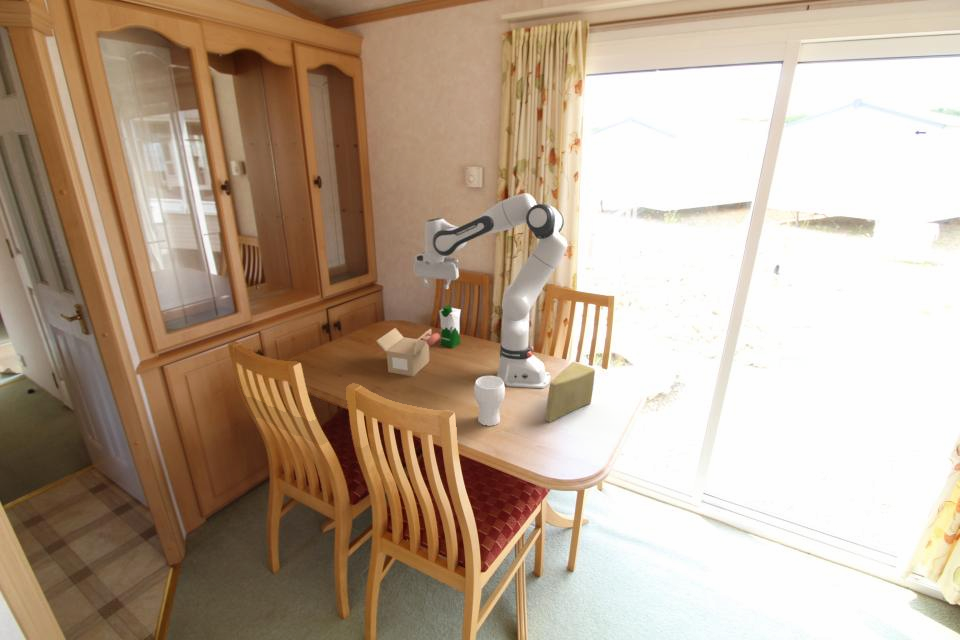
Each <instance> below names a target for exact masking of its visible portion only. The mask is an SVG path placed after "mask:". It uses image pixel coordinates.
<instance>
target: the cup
mask: <svg viewBox="0 0 960 640" xmlns="http://www.w3.org/2000/svg"><path fill="white" fill-rule="evenodd" d="M505 387H506V385H505V384H504V382H503V380H502V379H501V378H499V377H497V375H484V376H483V375H482V376H480V377H478V378H477V379H476V380H475V383H474V387H473V396H474V398H475V399H474V400H475V401H476V403H477V405H478V410H479V413H478V419H477V422H478V423H479V422H480V423H481V424H480V423H479V424H480V425H482V424H483V426H485V425H487V426H486V427H493V425H494V426H496V424H497V425H498V424H500V422H501V416H500V407H501V405H502V403H503V401H504V398H505V396H506V388H505Z"/></svg>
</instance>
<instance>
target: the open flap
mask: <svg viewBox="0 0 960 640" xmlns="http://www.w3.org/2000/svg"><path fill="white" fill-rule="evenodd" d="M404 337H405V336H403V334H402V333H400V331H399V330H398V329H397V328H396V327H394V328H393V329H391V330H390V331H388V332H387V333H386V334H384V335H383V336H381V337H379V338H378V339H377V340H376V341H375V342H376V343H377V344H378V345H379V347H381V348H382V350H383V351H384V352H385V353H387V350H389V349H390V348H391V347H393V346H394V345H395V344H396V343H398V342H399V341H400V340H402V339H403V338H404Z"/></svg>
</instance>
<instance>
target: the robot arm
mask: <svg viewBox="0 0 960 640" xmlns="http://www.w3.org/2000/svg"><path fill="white" fill-rule="evenodd" d="M522 224H526V225H527V227H528V229H529V230H530V231H531V232H532V234H533V235H534V236H535V238H536V239H538V242H537V244H536V246H535V247H534V248H533V250H532V252H531V253H530V255H529V256H528V258H527V260H525V262H524V263H523V265H522V267H521V268H520V270H519V272H518V274H517V276H516V278H515V280H514V281H513V282H512V283H510V284H509V285H508V286H507V287H506V288H505V289H504V291H503V296H502V302H501V308H502V309H501V310H502V318H501V320H502V321H501V342H500V343H501V344H500V347H499V357H500V360H499V366H498V369H497V373H496V377H499V378H501V379H502V380H503V382H504V386H505V387H516V388H531V389H545V388H546V387H547V386H548V385H550V383H551V379H552V378H551V373H550V372H548V371H546V367H545V364H544V362H543V361H542V360H541V359H539V358H538V357H537V356H536V355H534V354H533V353H534V346H531V345H529V336H530V335H529V334H530V312H531V309H532V307H533V306H534V304H535V302H536V301H537V299H538V297H539V296H540V294H541V292H542V290H543V289H544V287H545V285H546V283H548V281H549V279H550V278H551V276H552V275H553V273H554V272H555V270H556V269H557V268H558V266H559V264H561V262H562V260H563V258H564V256H565V254H566V251H568V242H567V240H566V238H565V237H564V236H563V235H562V234H561V233H560V232H561V231H562V230H563V227H564V216H563V214H562V212H560V210H558V209H556V207H554V206H551V205H549V204H545V203H538V204H537V202H536V199H535V198H534V197H533V196H532V195H531V194H530V193H527V192H525V193H520V194H517V195H514V196H511V197H508V198H505V199H504V200H501V201H499V202H498V203H496V204H494V205H493V206H492V207H490V208H488V210H486V211H485V212H483V213H482V214H481V215H479V216H478V217H477V218H475V219H474V220H472V221H470V222H468V223H466V224H462V225H461V226H455V225H453V224H451V223H449V222H448V221H446V220H445V219H444V218H442V217H437V218H431V219H428V220H426V222H425V224H424V225H425V226H424V241H425V248H424V252H421V253H418V254H417V255H415V256H414V263H413V276H415V277H419V278H421V281H422V282H423V284H424V288H429V287H430V283H429V281H428V280H427V278H429V279H437V280H445V281H446V283H445V284H444V285H443V286H444V287H443V289H445V290H448V289H450V288H449V287H450V284H451V282H452V281H456V280H458V278H459V277H460V272H459V261H458V259H456V258H454V257H449V256H450V255H452V254H453V253H454V252H457V251H459V250H462V249H463V248H464V247H466V246H467V244H468V242H469V241H471V240H474V239H477V237H481V236H485V235H489V234H494V233H500V232H505V231H507V230H511V229H513V228H515V227H518V226H520V225H522Z"/></svg>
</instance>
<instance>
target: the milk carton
mask: <svg viewBox="0 0 960 640" xmlns="http://www.w3.org/2000/svg"><path fill="white" fill-rule="evenodd" d="M461 311H462V309H460V308H454V307H452V306H450V305H445V306H443V307H442V309H440V310H438V313H439V317H440V318H439V319H440V346H443V347H446V348H449V349H450V348H451V349H454V348H456V347H457V346H458V345H461V336H460V333H461V331H460V329H461V327H460V317H461Z"/></svg>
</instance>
